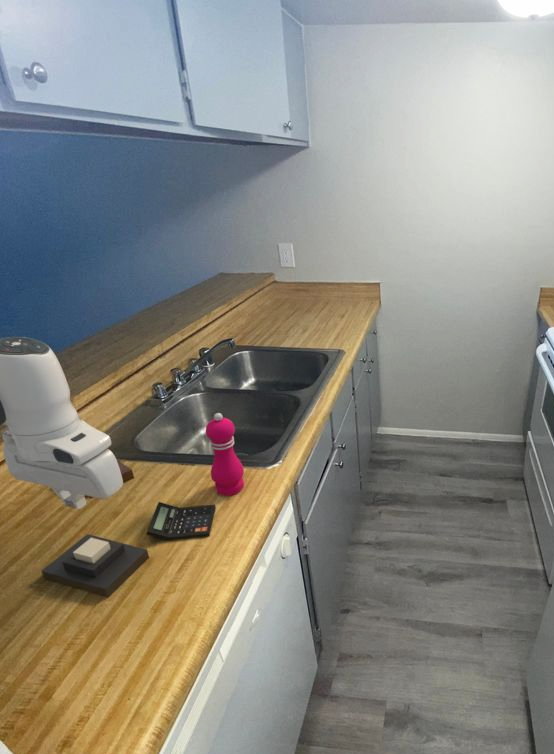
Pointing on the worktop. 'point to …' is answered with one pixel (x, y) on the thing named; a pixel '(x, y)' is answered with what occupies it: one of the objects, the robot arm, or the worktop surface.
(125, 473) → the key block
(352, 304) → the worktop surface
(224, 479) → the pepper mill
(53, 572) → the key block
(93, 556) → the near key
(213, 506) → the calculator
